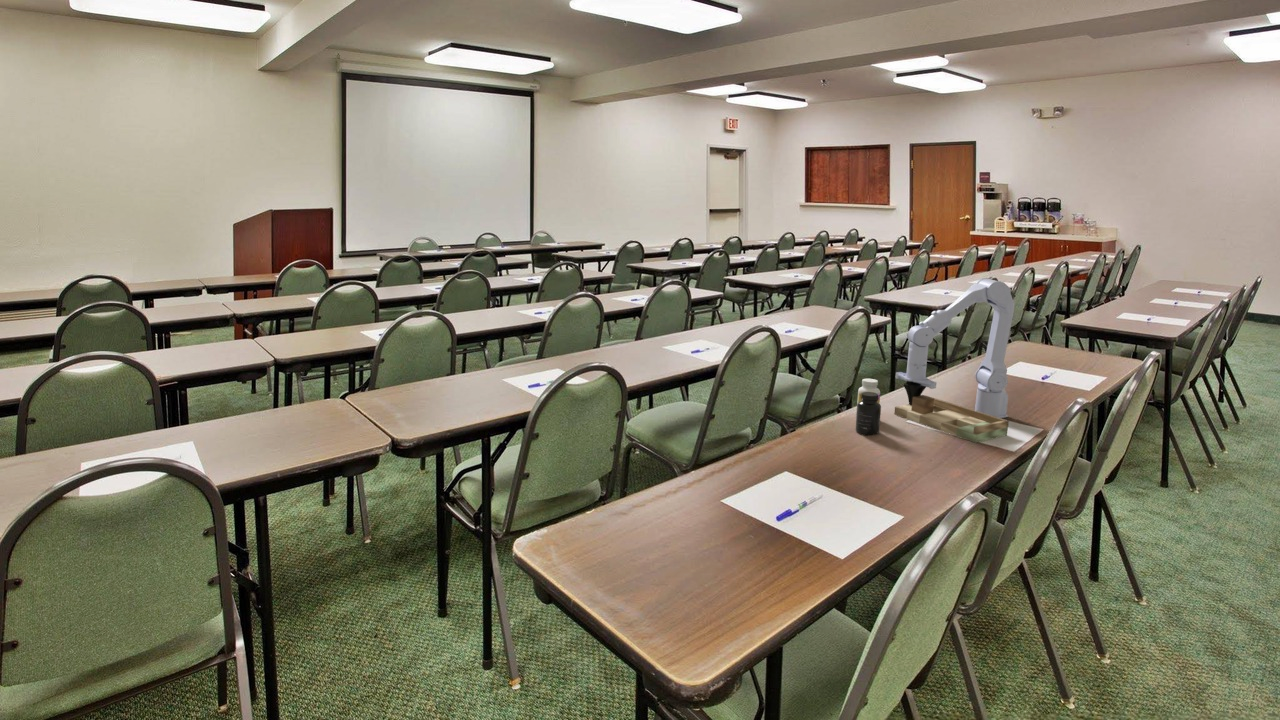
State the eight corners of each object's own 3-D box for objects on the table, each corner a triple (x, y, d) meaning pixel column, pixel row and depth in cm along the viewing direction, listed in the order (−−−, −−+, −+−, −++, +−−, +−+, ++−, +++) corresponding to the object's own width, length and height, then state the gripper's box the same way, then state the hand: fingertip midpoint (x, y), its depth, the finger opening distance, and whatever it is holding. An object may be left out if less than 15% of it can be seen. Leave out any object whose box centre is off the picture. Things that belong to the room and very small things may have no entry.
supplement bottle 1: (879, 423, 220) (882, 383, 217) (856, 422, 221) (860, 382, 218) (876, 417, 226) (879, 378, 223) (855, 415, 228) (858, 377, 225)
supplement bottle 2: (859, 427, 217) (862, 389, 214) (881, 431, 213) (885, 392, 210) (851, 433, 211) (854, 394, 208) (875, 437, 207) (878, 398, 205)
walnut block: (921, 408, 227) (922, 394, 226) (932, 412, 223) (934, 398, 222) (911, 410, 225) (912, 396, 224) (922, 414, 221) (924, 400, 220)
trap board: (924, 408, 236) (925, 395, 235) (1006, 435, 210) (1008, 420, 209) (894, 414, 229) (895, 400, 228) (975, 442, 203) (977, 427, 202)
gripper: (890, 360, 228) (886, 400, 232) (926, 370, 216) (922, 412, 219) (905, 358, 232) (902, 398, 235) (942, 367, 219) (938, 409, 222)
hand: (912, 405), depth 227 cm, fingers closed
